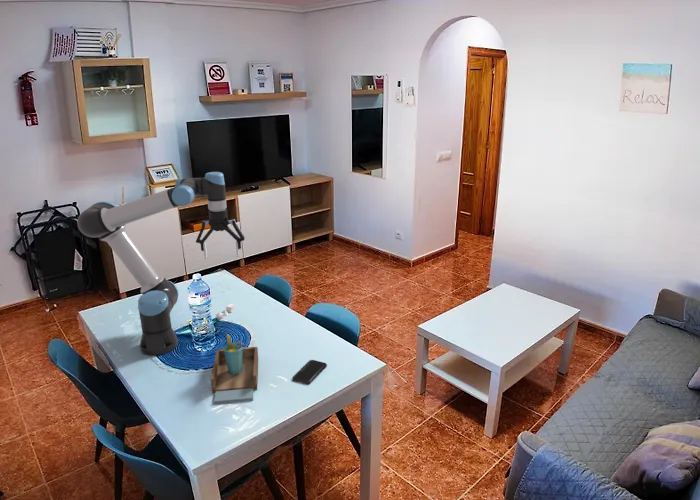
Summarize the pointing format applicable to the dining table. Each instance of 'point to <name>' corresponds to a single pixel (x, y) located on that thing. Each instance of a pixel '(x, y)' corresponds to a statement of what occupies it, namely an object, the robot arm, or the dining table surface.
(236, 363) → the cup
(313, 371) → the phone
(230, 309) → the game pieces
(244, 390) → the panel
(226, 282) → the dining table surface
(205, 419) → the dining table surface
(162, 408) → the dining table surface
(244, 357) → the tray
